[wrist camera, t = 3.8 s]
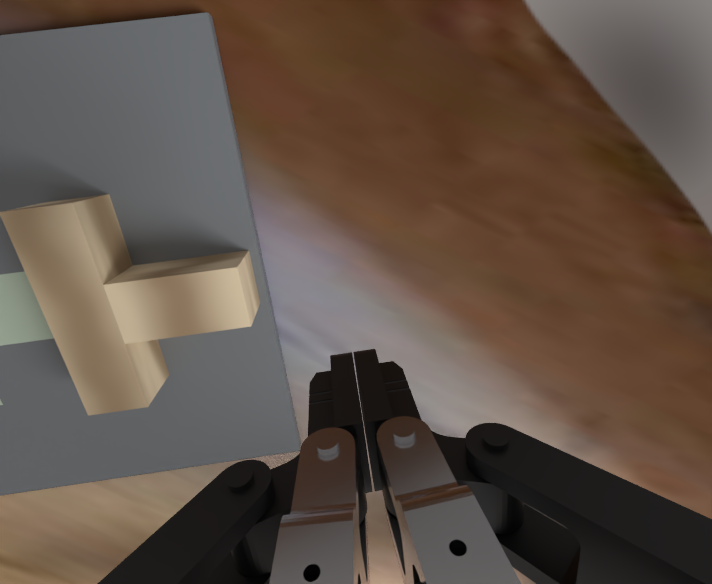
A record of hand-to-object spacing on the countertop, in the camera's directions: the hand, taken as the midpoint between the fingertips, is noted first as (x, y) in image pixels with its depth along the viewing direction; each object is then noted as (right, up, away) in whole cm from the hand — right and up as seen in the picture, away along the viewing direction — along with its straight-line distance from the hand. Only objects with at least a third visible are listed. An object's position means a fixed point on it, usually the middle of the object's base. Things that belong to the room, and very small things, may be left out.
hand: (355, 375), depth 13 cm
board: (-18, +2, +12) cm, 22 cm away
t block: (-12, +3, +11) cm, 16 cm away
